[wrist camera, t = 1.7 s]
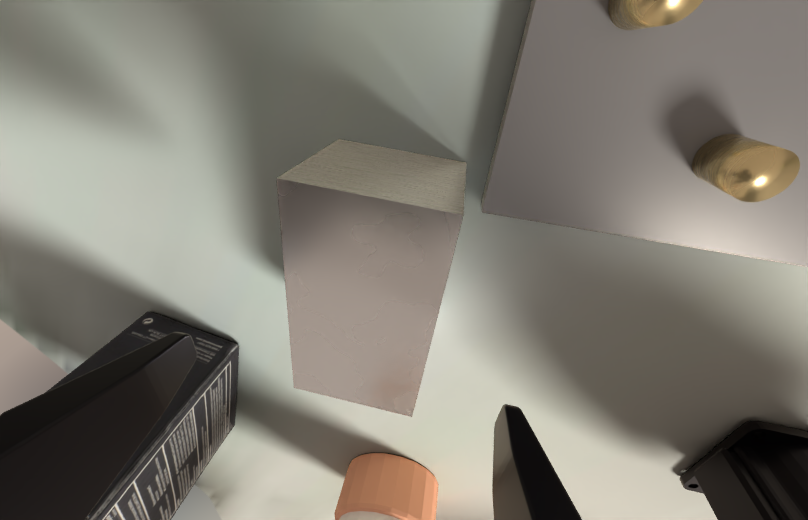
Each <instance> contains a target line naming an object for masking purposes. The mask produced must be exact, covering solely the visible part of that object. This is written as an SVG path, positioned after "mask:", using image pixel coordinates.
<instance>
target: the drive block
mask: <svg viewBox="0 0 808 520" xmlns="http://www.w3.org/2000/svg"><path fill="white" fill-rule="evenodd" d="M466 166H467V163H466V162H461V161H456V160H450V159H445V158H439V157H434V156H428V155H423V154H418V153H412V152H407V151H401V150H396V149H390V148H385V147H379V146H374V145H369V144H363V143H358V142H352V141H347V140H341V139H338V140H336V141H335V142H333V143H332V144H330V145H329V146H327V147H325V148H324V149H322V150H321V151H319V152H317V153H316V154H314V155H313V156H311V157H309V158H308V159H306V160H305V161H303V162H301V163H300V164H298V165H297V166H295V167H293V168H292V169H290V170H289V171H287V172H285V173H284V174H282V175H281V176H279V177H277V190H278V202H279V214H280V226H281V238H282V250H283V262H284V274H285V286H286V298H287V310H288V322H289V334H290V346H291V358H292V370H293V382H294V388H298V389H302V390H306V391H310V392H314V393H318V394H322V395H326V396H330V397H334V398H338V399H342V400H346V401H350V402H354V403H358V404H362V405H366V406H370V407H374V408H378V409H382V410H386V411H390V412H394V413H398V414H402V415H406V416H411V417H412V415H413V411H414V407H415V403H416V399H417V395H418V392H419V388H420V384H421V380H422V376H423V372H424V368H425V364H426V360H427V356H428V352H429V348H430V345H431V341H432V337H433V333H434V329H435V325H436V321H437V317H438V313H439V309H440V305H441V301H442V298H443V294H444V290H445V286H446V282H447V278H448V274H449V270H450V266H451V262H452V258H453V254H454V250H455V247H456V243H457V239H458V235H459V231H460V227H461V223H462V219H463V215H464V199H465V183H466Z"/></svg>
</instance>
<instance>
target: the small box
mask: <svg viewBox="0 0 808 520" xmlns="http://www.w3.org/2000/svg"><path fill="white" fill-rule="evenodd" d="M173 332H181V333H186V334H189V335H191V337H192V339H193V342H194V345H195V348H196V351H197V358H196V361H195V363H194V364H193V366H192V368H191V369H190V371H189V373H188V374H187V376H186V378H185V379H184V381H183V383H182V384H181V386H180V388H179V389H178V391H177V392H176V394H175V396H174V397H173V399H172V401H171V402H170V404H169V405H168V407H167V409H166V410H165V412H164V413H163V414H162V416H161V417H160V419H159V420H158V421H157V423H156V424H155V425H154V427H153V428H152V429H151V431H150V432H149V434H148V435H147V436H146V438H145V439H144V440H143V442H142V443H141V444H140V446H139V447H138V448H137V450H136V451H135V453H134V454H133V455H132V457H131V458H130V459H129V461H128V462H127V463H126V465H125V466H124V467H123V469H122V470H121V471H120V473H119V474H118V476H117V477H116V478H115V480H114V481H113V482H112V484H111V485H110V486H109V488H108V489H107V490H106V492H105V493H104V495H103V496H102V497H101V499H100V500H99V501H98V503H97V504H96V505H95V507H94V508H93V509H92V511H91V512H90V513H89V515H88V516H87V518H86V519H85V520H171V518H172V517H173V516H174V514H175V513H176V511H177V510H178V508H179V507H180V505H181V503H182V502H183V501H184V499H185V498H186V496H187V494H188V493H189V491H190V490H191V488H192V487H193V485H194V484H195V483H196V481H197V479H198V478H199V476H200V475H201V474H202V472H203V470H204V469H205V467H206V466H207V465H208V463H209V462H210V460H211V458H212V457H213V455H214V454H215V453H216V451H217V450H218V448H219V447H220V445H221V444H222V443H223V441H224V440H225V438H226V437H227V435H228V434H229V432H230V431H231V430H232V428H233V427H234V425H235V413H236V396H237V376H238V356H239V345H237V344H235V343H233V342H230V341H227V340H224V339H222V338H219V337H216V336H214V335H211V334H208V333H206V332H203V331H200V330H198V329H195V328H193V327H190V326H187V325H185V324H182V323H180V322H177V321H175V320H172V319H169V318H167V317H164V316H161V315H158V314H155V313H152V312H147V313H145V314H144V315H143V316H142V317H141V318H139V319H138V320H137V321H136V322H134V323H133V324H132V325H131V326H129V327H128V328H127V329H125V330H124V331H123V332H122V333H120V334H119V335H118V336H117V337H115V338H114V339H113V340H111V341H110V342H109V343H108V344H106V345H105V346H104V347H103V348H101V349H100V350H99V351H98V352H96V353H95V354H94V355H93V356H91V357H90V358H89V359H88V360H86V361H85V362H84V363H82V364H81V365H80V366H79V367H77V368H76V369H75V370H74V371H72V372H71V373H70V374H68V375H67V376H66V377H64V378H63V379H62V380H61V381H59V382H58V383H57V384H56V385H54V386H53V387H52V388H51V389H49V390H48V391H50V390H52V389H54V388H57V387H59V386H61V385H63V384H65V383H67V382H69V381H71V380H73V379H76V378H78V377H80V376H82V375H84V374H86V373H88V372H90V371H92V370H95V369H97V368H99V367H101V366H103V365H105V364H107V363H109V362H111V361H114V360H116V359H118V358H120V357H122V356H124V355H126V354H128V353H131V352H133V351H135V350H137V349H139V348H141V347H143V346H145V345H147V344H150V343H152V342H154V341H156V340H158V339H160V338H162V337H164V336H166V335H169V334H171V333H173ZM48 391H47V392H48ZM45 393H46V392H45Z"/></svg>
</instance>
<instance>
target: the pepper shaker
mask: <svg viewBox="0 0 808 520" xmlns="http://www.w3.org/2000/svg"><path fill="white" fill-rule="evenodd" d="M437 494H438V483H437V481H436V478H435V477H434V476H433V475H432V474H431V473H430V472H429V471H428V470H427V469H426V468H424V467H423V466H421V465H419V464H418V463H416V462H414V461H411V460H409V459H406V458H404V457H401V456H396V455H391V454H386V453H370V454H364V455H360V456H358V457H356V458H355V459H353V460H352V461H351V463H350V465H349V467H348V470H347V474H346V477H345V480H344V484H343V487H342V490H341V494H340V497H339V500H338V504H337V507H336V510H335V520H435V519H436V507H437Z"/></svg>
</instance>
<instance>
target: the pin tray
mask: <svg viewBox="0 0 808 520" xmlns="http://www.w3.org/2000/svg"><path fill="white" fill-rule="evenodd" d="M481 206H482V212H483V213H489V214H495V215H501V216H507V217H513V218H519V219H525V220H530V221H536V222H542V223H548V224H554V225H560V226H566V227H572V228H578V229H584V230H590V231H596V232H602V233H608V234H614V235H620V236H626V237H632V238H638V239H644V240H650V241H655V242H661V243H667V244H673V245H679V246H685V247H691V248H697V249H703V250H709V251H715V252H721V253H727V254H733V255H739V256H745V257H751V258H757V259H763V260H769V261H775V262H780V263H786V264H792V265H798V266H804V267H808V0H532V1H531V5H530V9H529V13H528V17H527V21H526V25H525V29H524V33H523V37H522V41H521V45H520V49H519V53H518V57H517V61H516V65H515V69H514V73H513V77H512V81H511V85H510V89H509V93H508V97H507V101H506V105H505V109H504V113H503V117H502V121H501V125H500V129H499V133H498V137H497V141H496V145H495V149H494V153H493V157H492V161H491V165H490V169H489V173H488V177H487V181H486V185H485V189H484V193H483V197H482V201H481Z"/></svg>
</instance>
